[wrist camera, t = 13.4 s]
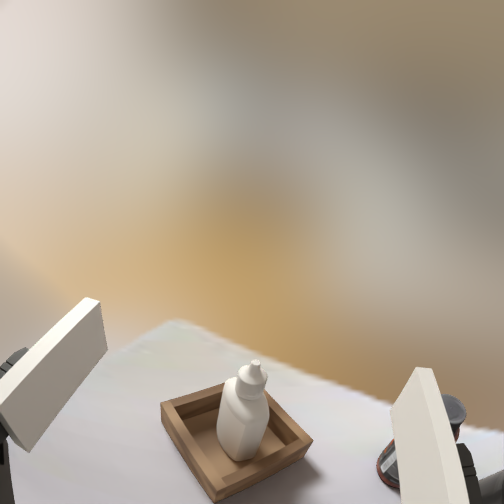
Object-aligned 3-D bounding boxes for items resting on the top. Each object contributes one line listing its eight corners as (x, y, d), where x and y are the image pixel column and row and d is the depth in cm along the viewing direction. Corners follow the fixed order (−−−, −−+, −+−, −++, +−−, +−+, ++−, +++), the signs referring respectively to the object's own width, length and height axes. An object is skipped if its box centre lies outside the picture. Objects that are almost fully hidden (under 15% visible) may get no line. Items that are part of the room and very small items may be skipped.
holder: (303, 456, 28) (313, 440, 27) (213, 503, 22) (217, 490, 20) (245, 392, 36) (250, 373, 35) (161, 421, 30) (160, 402, 28)
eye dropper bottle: (209, 458, 26) (223, 382, 21) (218, 417, 31) (232, 336, 27) (253, 465, 26) (283, 392, 21) (257, 424, 31) (283, 344, 27)
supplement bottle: (393, 442, 30) (440, 377, 26) (426, 468, 26) (482, 407, 22) (364, 468, 27) (415, 405, 22) (400, 499, 23) (462, 441, 18)
